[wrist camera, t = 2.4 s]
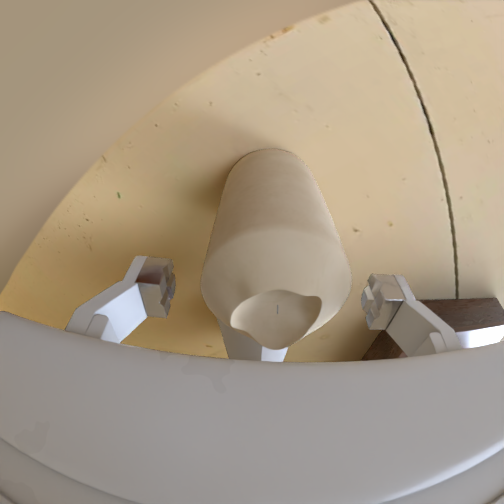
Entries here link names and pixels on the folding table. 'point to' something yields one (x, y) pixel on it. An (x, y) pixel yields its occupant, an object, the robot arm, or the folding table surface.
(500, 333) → the wooden step stool
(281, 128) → the folding table surface
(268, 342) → the candle
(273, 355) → the flask
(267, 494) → the robot arm
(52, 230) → the folding table surface
